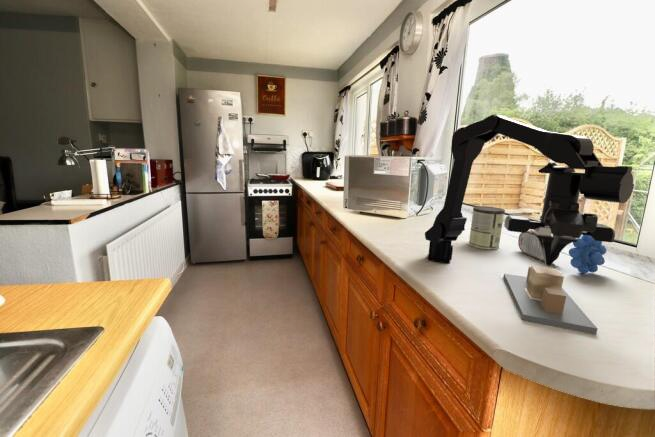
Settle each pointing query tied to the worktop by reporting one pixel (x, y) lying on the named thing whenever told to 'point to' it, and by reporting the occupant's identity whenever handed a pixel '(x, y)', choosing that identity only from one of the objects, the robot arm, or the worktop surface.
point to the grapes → (587, 254)
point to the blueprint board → (547, 317)
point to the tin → (531, 245)
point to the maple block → (543, 280)
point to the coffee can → (486, 227)
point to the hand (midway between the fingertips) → (547, 265)
